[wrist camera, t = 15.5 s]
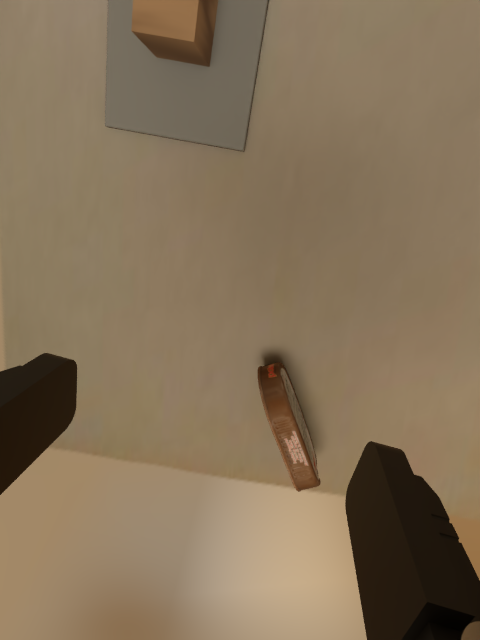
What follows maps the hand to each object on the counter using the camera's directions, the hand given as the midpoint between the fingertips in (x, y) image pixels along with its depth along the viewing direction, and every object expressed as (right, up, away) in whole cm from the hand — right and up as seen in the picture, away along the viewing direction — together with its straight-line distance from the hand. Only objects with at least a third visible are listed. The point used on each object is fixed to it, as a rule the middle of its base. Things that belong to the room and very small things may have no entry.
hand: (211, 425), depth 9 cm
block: (-5, +25, +18) cm, 32 cm away
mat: (-4, +30, +20) cm, 36 cm away
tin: (+7, -8, +32) cm, 34 cm away
